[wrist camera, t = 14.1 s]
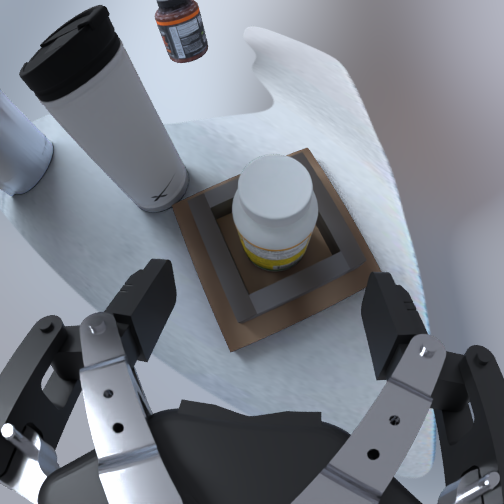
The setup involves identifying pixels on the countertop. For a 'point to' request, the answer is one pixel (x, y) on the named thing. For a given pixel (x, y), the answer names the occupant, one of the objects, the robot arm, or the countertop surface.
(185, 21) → the supplement bottle
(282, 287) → the square tray with rim
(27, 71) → the travel mug
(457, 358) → the robot arm
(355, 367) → the countertop surface
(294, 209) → the supplement bottle
